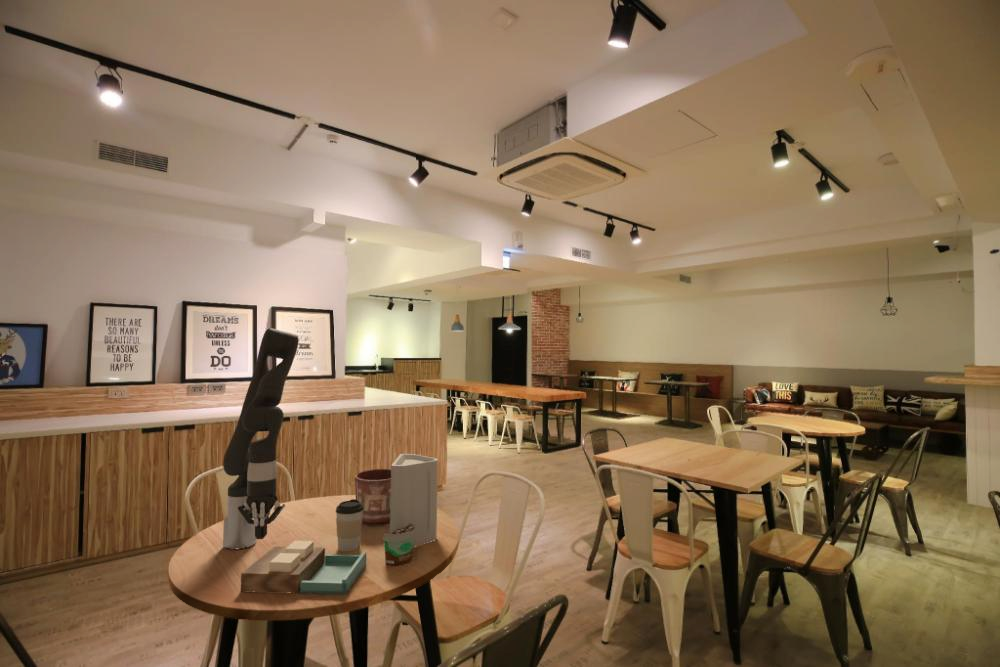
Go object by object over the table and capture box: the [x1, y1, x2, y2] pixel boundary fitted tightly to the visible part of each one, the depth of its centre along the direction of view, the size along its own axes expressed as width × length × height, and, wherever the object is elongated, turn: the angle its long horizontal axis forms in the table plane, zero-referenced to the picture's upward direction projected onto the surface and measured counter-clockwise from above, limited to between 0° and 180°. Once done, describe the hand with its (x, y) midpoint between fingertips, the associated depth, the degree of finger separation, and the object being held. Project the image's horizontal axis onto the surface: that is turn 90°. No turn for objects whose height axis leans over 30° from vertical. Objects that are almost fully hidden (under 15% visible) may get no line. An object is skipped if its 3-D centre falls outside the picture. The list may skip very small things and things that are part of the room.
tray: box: [299, 551, 367, 596], centre depth 137 cm, size 12×18×4 cm
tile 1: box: [269, 553, 301, 572], centre depth 133 cm, size 6×6×2 cm
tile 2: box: [285, 540, 315, 558], centre depth 142 cm, size 6×6×2 cm
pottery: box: [354, 468, 391, 526], centre depth 186 cm, size 18×18×18 cm
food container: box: [382, 523, 416, 567], centre depth 149 cm, size 12×6×10 cm, turn 148°
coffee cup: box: [335, 498, 364, 552], centre depth 159 cm, size 9×9×15 cm
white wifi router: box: [389, 453, 439, 548], centre depth 167 cm, size 19×15×28 cm
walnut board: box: [240, 545, 326, 594], centre depth 138 cm, size 16×18×5 cm
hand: (260, 538), depth 134 cm, fingers closed
